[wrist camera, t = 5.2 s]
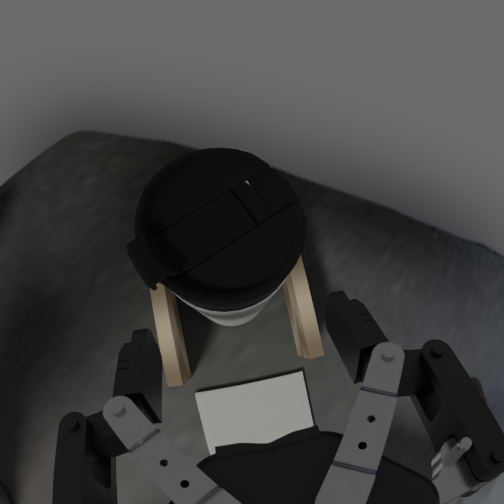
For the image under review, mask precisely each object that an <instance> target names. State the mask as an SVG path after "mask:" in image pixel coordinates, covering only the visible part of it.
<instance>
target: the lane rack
mask: <svg viewBox="0 0 504 504" xmlns="http://www.w3.org/2000/svg"><path fill="white" fill-rule="evenodd" d="M282 177H283V176H282ZM137 206H138V203H137ZM156 286H157V288H158V289H156V290H155V291H153V290H152V289H150V293H151V299H152V306H153V312H154V318H155V324H156V329H157V335H158V340H159V345H160V351H161V356H162V361H163V365H164V370H165V375H166V379H167V384H168V387H171V386H178V385H183V384H185V383H186V382H187V381H188V380H189V379H190V378H192V376H191V371H190V367H189V362H188V357H187V352H186V347H185V342H184V337H183V332H182V327H181V321H180V316H179V310H178V305H177V299H176V295H175V294H174V293H173V292H172V291H171V290H170V289H168V288H167V287H165V286H164V285H162V284H160V283H157V284H156ZM282 286H283V290H284V295H285V299H286V304H287V308H288V312H289V317H290V321H291V326H292V330H293V335H294V339H295V344H296V348H297V353H298V356H301V357H304V358H308V359H312V358H316V357H319V356H323V355H324V351H323V347H322V342H321V338H320V333H319V329H318V324H317V320H316V315H315V311H314V307H313V302H312V298H311V294H310V290H309V286H308V282H307V277H306V273H305V269H304V265H303V261H302V257H301V255H300V257H299V259H298V261H297V264H296V265H295V267H294V268H293V269H292V271H291V272H290V273H289V275H288V277H287V279H286V280H285V281H284V283H283V284H282Z"/></svg>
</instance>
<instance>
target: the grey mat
mask: <svg viewBox="0 0 504 504" xmlns="http://www.w3.org/2000/svg"><path fill="white" fill-rule="evenodd" d="M195 397H196V401H197V405H198V409H199V413H200V417H201V421H202V425H203V429H204V433H205V437H206V441H207V444H208V448H209V452H210V455H212V454H215V453H216V452H215V447H216V446H223V445H229V444H235V443H270V442H272V441H274V440H276V439H278V438H281V437H283V436H285V435H287V434H289V433H291V432H293V431H297V430H301V429H305V428H309V427H312V426H314V425H313V420H312V415H311V411H310V406H309V401H308V396H307V391H306V387H305V382H304V377H303V373H302V371H299V372H295V373H291V374H287V375H283V376H278V377H274V378H270V379H265V380H260V381H256V382H251V383H246V384H241V385H236V386H231V387H225V388H220V389H214V390H208V391H202V392H196V393H195Z"/></svg>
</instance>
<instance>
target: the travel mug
mask: <svg viewBox="0 0 504 504" xmlns="http://www.w3.org/2000/svg"><path fill="white" fill-rule="evenodd" d="M135 235H136V239H134V240H133V241H131V242H130V243H129V244H127V246H126V248H127V251H128V254H129V257H130V259H131V261H132V262H133V264H134V266H135V268H136V270H137V271H138V273H139V275H140V276H141V278H142V279H143V281H144V282H145V284H146V285H147V286H148V287H149V288H150V289H152V290H153V291H155V290H156V289H158V288H157V286H156V284H157V283H160V284H162V285H164V286H165V287H167V288H168V289H170V290H171V291H172V292H173V293H174V294H175V295H176V296H177V297H179V298H180V299H181V300H182V301H183V302H185V303H186V304H188V305H189V306H191V307H192V308H194V309H195V310H197V311H198V312H200V313H201V314H203V315H204V316H206V317H207V318H209V319H210V320H212V321H214V322H216V323H218V324H220V325H224V326H239V325H242V324H245V323H247V322H249V321H250V320H252V319H253V318H254V317H255V316H256V315H257V314H258V313H259V312H260V311H261V309H262V308H263V307H264V306H265V305H266V304H267V302H268V301H269V300H270V299H271V298H272V297H273V295H274V294H275V293H276V292H277V291H278V289H279V288H280V287H281V285H282V284H283V283H284V281H285V280H286V279H287V277H288V275H289V273H290V272H291V271H292V269H293V268H294V267H295V265H296V264H297V261H298V259H299V257H300V255H301V253H302V250H303V246H304V241H305V237H306V219H305V216H304V214H303V211H302V208H301V205H300V203H299V200H298V201H297V197H296V193H295V192H294V190H293V189H292V187H291V186H290V184H289V183H288V182H287V181H286V180H285V179H284V178H283V177H282V176H281V175H280V174H279V173H278V172H277V171H276V170H274V169H271V168H269V164H268V163H266V162H264V161H263V160H261V159H260V158H258V157H256V156H255V155H253V154H251V153H248V152H244V151H240V150H237V149H228V148H210V149H203V150H198V151H194V152H190V153H188V154H185V155H183V156H181V157H178V158H176V159H175V160H173V161H172V162H170V163H168V164H167V165H165V166H164V167H163V168H162V169H161V170H160V171H159V172H158V173H157V174H155V175H154V176H153V178H152V179H151V181H150V182H149V183H148V185H147V186H146V187H145V189H144V191H143V193H142V195H141V198H140V200H139V202H138V206H137V210H136V215H135Z"/></svg>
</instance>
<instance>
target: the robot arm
mask: <svg viewBox="0 0 504 504" xmlns="http://www.w3.org/2000/svg"><path fill="white" fill-rule="evenodd" d="M325 323H326V327H327V330H328V333H329V335H330V337H331V339H332V341H333V343H334V345H335V347H336V348H337V350H338V352H339V354H340V356H341V358H342V360H343V363H344V365H345V367H346V369H347V371H348V373H349V375H350V377H351V379H352V381H353V383H354V384H355V383H359V382H362V383H363V384H362V387H361V389H360V391H359V394H358V397H357V400H356V403H355V406H354V409H353V412H352V414H351V417H350V420H349V423H348V425H347V428H346V430H345V433H344V435H342V434H339V433H336V432H330V431H319V429H318V426H317V425H316V426H312V427H309V428H305V429H301V430H297V431H293V432H291V433H289V434H287V435H285V436H283V437H281V438H278V439H276V440H274V441H272V442H270V443H235V444H229V445H223V446H216V447H215V452H216V453H215V454H212V455H210V456H208V457H206V458H205V459H203V460H202V461H201V462H200V463H198V464H197V465H194V464H193V463H192V462H191V461H190V460H189V459H188V458H187V457H186V456H185V455H184V454H183V453H182V452H181V451H180V450H179V449H178V448H177V447H176V446H175V445H174V444H173V443H172V442H171V441H170V440H169V439H168V438H167V437H166V436H165V435H164V434H163V433H162V432H161V431H160V430H159V429H157V428H156V427H155V426H154V423H162V356H161V353H160V350H159V348H158V346H157V343H156V341H155V339H154V336H153V334H152V332H151V330H150V329H149V328H148V329H141V330H135V331H133V333H132V340H131V343H125V344H124V345H123V347H122V349H121V350H120V352H119V357H118V363H117V371H116V376H115V383H114V390H113V397H112V399H110V400H109V401H108V402H107V403H106V404H105V406H104V408H103V410H102V411H101V412H98V413H96V414H93V415H90V416H87V417H85V416H84V415H83V414H81V413H79V412H71V413H68V414H67V415H65V416H64V417H63V418H62V420H61V421H60V424H59V430H58V438H57V446H56V456H55V467H54V480H53V501H52V504H117V485H116V456H119V455H122V454H124V453H127V452H129V453H130V454H131V455H132V456H133V458H134V459H135V460H136V461H137V463H138V464H139V465H140V466H141V467H142V468H143V470H144V471H145V472H146V473H147V474H148V475H149V476H150V478H151V479H152V480H153V481H154V482H155V483H156V484H157V485H158V486H159V487H160V489H161V490H162V491H163V492H164V493H165V494H166V495H167V496H168V497H169V498H170V499H171V501H170V502H169V504H447V503H449V502H451V501H452V500H454V499H456V498H458V497H460V496H461V497H468V496H471V495H472V494H474V493H475V492H477V491H478V490H480V489H481V488H483V487H484V486H485V485H487V484H488V483H489V482H491V481H492V480H493V479H495V478H496V477H497V476H499V475H500V474H501V473H503V472H504V434H503V432H502V430H501V428H500V426H499V425H498V423H497V421H496V419H495V418H494V416H493V414H492V412H491V411H490V409H489V407H488V406H487V404H486V402H485V401H484V399H483V397H482V396H481V394H480V392H479V391H478V389H477V388H476V386H475V384H474V383H473V381H472V380H471V378H470V377H469V375H468V374H467V372H466V370H465V369H464V367H463V366H462V364H461V363H460V361H459V360H458V358H457V357H456V355H455V354H454V352H453V351H452V349H451V348H450V347H449V345H448V344H447V343H445V342H443V341H441V340H430V341H427V342H426V343H425V344H424V345H423V348H422V349H417V350H403V349H402V348H401V347H400V346H399V345H397V344H395V343H391V342H389V341H388V339H387V338H386V336H385V335H384V333H383V332H382V330H381V329H380V327H379V326H378V324H377V323H376V321H375V320H374V319H373V317H372V316H371V314H369V311H368V310H367V308H366V307H365V305H364V304H362V303H361V302H359V301H358V300H356V299H352V300H349V299H348V297H347V296H346V294H345V293H344V291H338V292H334V293H329V294H327V295H326V309H325ZM400 396H410V397H411V399H412V401H413V403H414V405H415V407H416V410H417V412H418V414H419V416H420V418H421V420H422V422H423V424H424V426H425V428H426V430H427V432H428V434H429V437H430V439H431V441H432V443H433V445H434V447H435V450H436V452H437V453H436V454H435V455H434V457H433V459H432V462H431V467H432V471H433V476H432V480H430V479H428V478H427V477H425V476H423V475H421V474H419V473H417V472H415V471H413V470H411V469H409V468H407V467H404V466H402V465H400V464H398V463H396V462H394V461H392V460H390V459H388V458H387V457H385V456H383V455H382V453H383V450H384V446H385V443H386V440H387V436H388V433H389V429H390V425H391V422H392V418H393V414H394V410H395V406H396V402H397V397H400ZM0 504H11V501H10V499H9V497H8V495H7V493H6V491H5V489H4V488H3V486H2V485H1V483H0Z"/></svg>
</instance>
